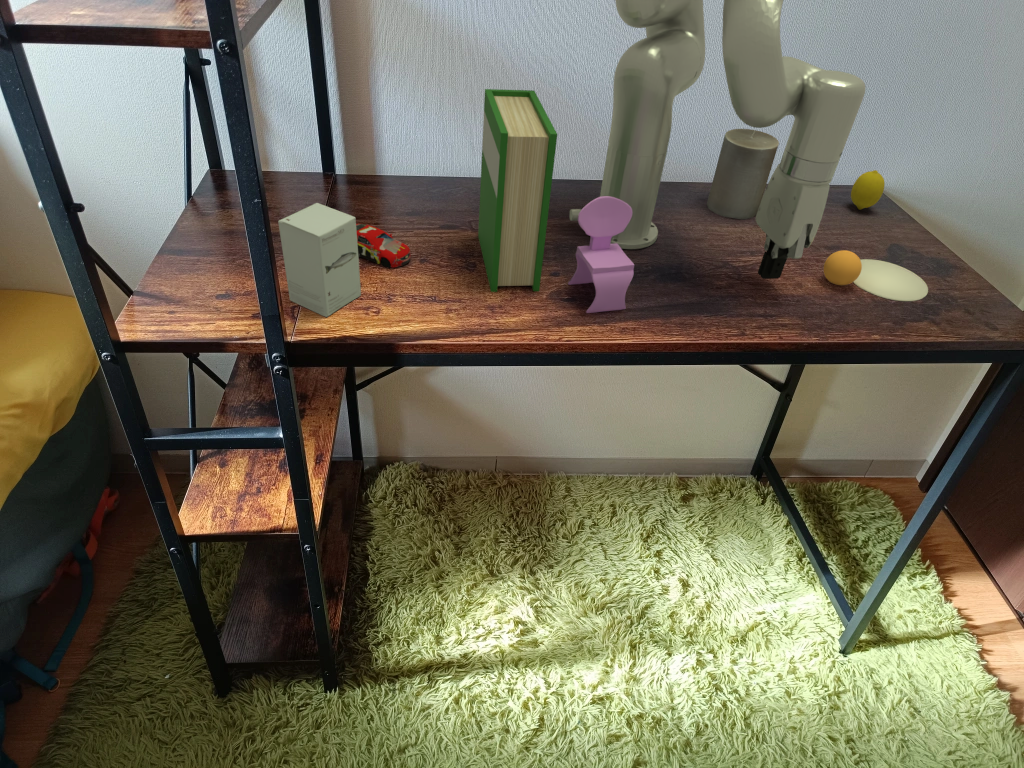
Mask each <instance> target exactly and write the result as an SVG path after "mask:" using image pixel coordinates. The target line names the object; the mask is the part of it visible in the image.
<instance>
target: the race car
mask: <svg viewBox="0 0 1024 768" xmlns="http://www.w3.org/2000/svg"><path fill="white" fill-rule="evenodd" d="M356 231H357V244H358V257H360V258H362V259H366V260H368V261H371V262H373V263H375V264H378V265H380V264H381V266H382V267H385V268H387V269H390V268H399V267H403V266H405V265H407V264H408V263H409V262H410V261H411V259H412V256H411V253H412V252H411V249H410V247H409V246H408V245H407V244H405V243H403V242H402V241H399V239H396V238H394V237H393V233H390V234H389V233H388V232H386V231H385V230H383V229H380V228H379V227H375V226H374V225H369V224H365V223H356Z"/></svg>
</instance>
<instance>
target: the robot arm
mask: <svg viewBox="0 0 1024 768" xmlns="http://www.w3.org/2000/svg"><path fill="white" fill-rule="evenodd" d="M614 1H615V6H616V10H617V13H618V15H619V16H618V17H620V19H621V20H622V21H623V22H624V23H625V24H626V25H627V26H630V27H632V28H635V29H643V28H645V34H646V37H645V38H643V39H640V40H638V41H636V42H634V43H633V44H632V45H631V46H629V47H628V48H627V49H626V50H625V51H624V53H622V55H621V57H620V58H619V60H618V62H617V65H616V68H615V71H614V75H613V76H614V77H613V87H612V88H613V89H612V90H613V92H612V93H613V98H612V99H613V101H612V103H613V105H612V117H611V124H610V130H609V137H608V145H607V149H606V151H607V152H606V158H605V162H604V169H603V176H602V181H601V182H602V183H601V187H600V194H599V197H602V196H610V197H614V198H617V199H620V200H622V201H624V202H625V203H627V204H628V205H629V206H630V207H631V209H632V217H631V220H630V222H629V223H628V225H627V226H626V228H625V229H624V231H623V232H621V233H619V234H617V235H614V236H612V238H611V242H610V244H614V243H617V244H618V245H619V246H620V247H621V249H622V250H639V249H645V248H647V247H649V246H652V245H653V244H654V243H656V241H657V238H658V235H659V229H658V227H657V226H656V224H655V223H654V222H653V217H654V211H655V208H656V202H657V199H658V194H659V190H660V185H661V179H662V175H663V172H664V167H665V162H666V158H667V153H668V148H669V147H668V146H669V143H670V139H671V132H672V125H673V123H672V122H673V121H672V120H673V105H674V99H675V97H677V96H678V95H679V94H681V93H683V92H685V91H686V90H687V89H689V88H690V87H692V86H693V85H694V84H695V83H696V82H697V81H698V79H700V76H701V75H702V71H703V70H704V66H705V60H706V35H705V17H704V16H705V15H704V0H614ZM783 3H784V0H723V6H722V35H721V36H722V37H721V40H722V42H721V43H722V45H721V47H722V58H723V66H724V70H725V76H726V77H725V78H726V84H727V87H728V93H729V98H730V101H731V105H732V108H733V109H734V112H735V115H736V116H737V117H738V118H739V119H740V121H742V122H743V124H745V125H747V126H749V127H753V128H757V129H763V128H767V127H771V126H773V125H775V124H777V123H778V122H780V121H781V120H782V119H783V118H785V117H786V116H793V118H794V120H793V124H792V127H791V129H790V132H789V136H788V138H787V141H786V145H785V147H784V150H783V154H782V156H781V159H780V163H778V165H777V166H776V168H775V169H774V171H773V173H772V175H771V177H770V179H769V181H768V182H767V184H766V187H765V191H764V194H763V197H762V200H761V203H760V206H759V209H758V211H757V214H756V216H755V222H756V223H757V226H759V228H760V229H761V231H763V232H764V233H765V241H764V245H763V248H764V249H763V250H764V253H763V256H762V258H761V261H760V264H759V267H758V271H757V274H758V275H759V276H760V277H761V278H762V280H769V279H770V280H771V279H772V280H775V279H780V278H781V277H782V276H781V275H782V273H783V271H784V268H785V265H786V263H787V259H790V258H791V259H794V260H795V259H797V260H799V259H802V257H803V253H804V249H806V248H807V249H808V248H810V246H812V244H813V242H814V239H815V238H816V235H817V232H818V230H819V228H820V223H821V221H822V219H823V214H824V211H825V209H826V205H827V200H828V196H829V191H830V187H831V186H830V184H831V182H832V180H833V178H834V175H835V173H836V170H837V167H838V165H839V161H840V159H841V156H842V155H843V151H844V149H845V146H846V145H847V141H848V139H849V136H850V134H851V131H852V128H853V125H854V123H855V120H856V117H857V115H858V113H859V111H860V107H861V105H862V103H863V99H864V97H865V93H866V84H865V82H864V80H863V79H862V78H860V77H858V76H857V75H854V74H852V73H848V72H845V71H840V70H839V71H838V70H830V69H828V70H827V69H823V68H820V67H818V66H816V65H813V64H811V63H808V62H807V61H804V60H801V59H799V58H796V57H794V56H793V57H792V56H785V55H784V56H783V52H782V44H781V15H782V7H783ZM581 210H582V209H581V208H573V209H571V208H570V210H569V220H570V221H572V222H573V221H577V222H578V215H579V213H580V211H581Z"/></svg>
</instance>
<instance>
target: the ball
mask: <svg viewBox="0 0 1024 768" xmlns="http://www.w3.org/2000/svg"><path fill="white" fill-rule="evenodd" d="M861 260H862V259H861V258H860V257H859V256H858V255H857V254H856V253H855V252H853V251H850V250H846V249H845V250H844V249H843V250H838V251H835V252H833V253H831V254H830V255H829V256H828V257H827V258H826V260H825V262H824V264H823V275H824V276H825V278H826V279H827V281H828V282H829V283H831V284H833V285H836V286H847V285H850V284H853V282H854V281H855V280H856V279H857V278H858V277H859V275H860V273H861V270H862V264H861Z"/></svg>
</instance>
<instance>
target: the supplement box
mask: <svg viewBox="0 0 1024 768" xmlns="http://www.w3.org/2000/svg"><path fill="white" fill-rule="evenodd" d="M356 221H357V219H356V217H355V216H353V215H351V214H348V213H345V212H343V211H341V210H340V211H339V210H337V209H335V208H331V207H329V206H327V205H324V204H321V203H319V202H315V203H313V204H311V205H309V206H307V207H305V208H303V209H300V210H299V211H296V212H295V213H292V214H290V215H288V216H286V217H283V218H282V219H279V220H278V221H277V222H278V229H279V235H280V236H279V237H280V241H281V249H282V257H283V262H284V271H285V277H286V282H287V290H288V296H289V297H288V298H289V300H290V302H293V303H294V304H298V305H299V306H301V307H303V308H306V309H308V310H310V311H311V312H314V313H316V314H318V315H320V316H323V317H325V318H328V317H330V316H331V315H332V314H333V313H335V312H336V311H338V310H340V309H341V308H343V307H345V306H346V305H347V304H349V303H350V302H352V301H353V300H354V301H355V300H356V299H357V298H359V297H362V289H361V287H362V286H361V276H360V275H361V274H360V262H359V261H360V259H359V256H358V244H357V231H356V224H357V222H356Z"/></svg>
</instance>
